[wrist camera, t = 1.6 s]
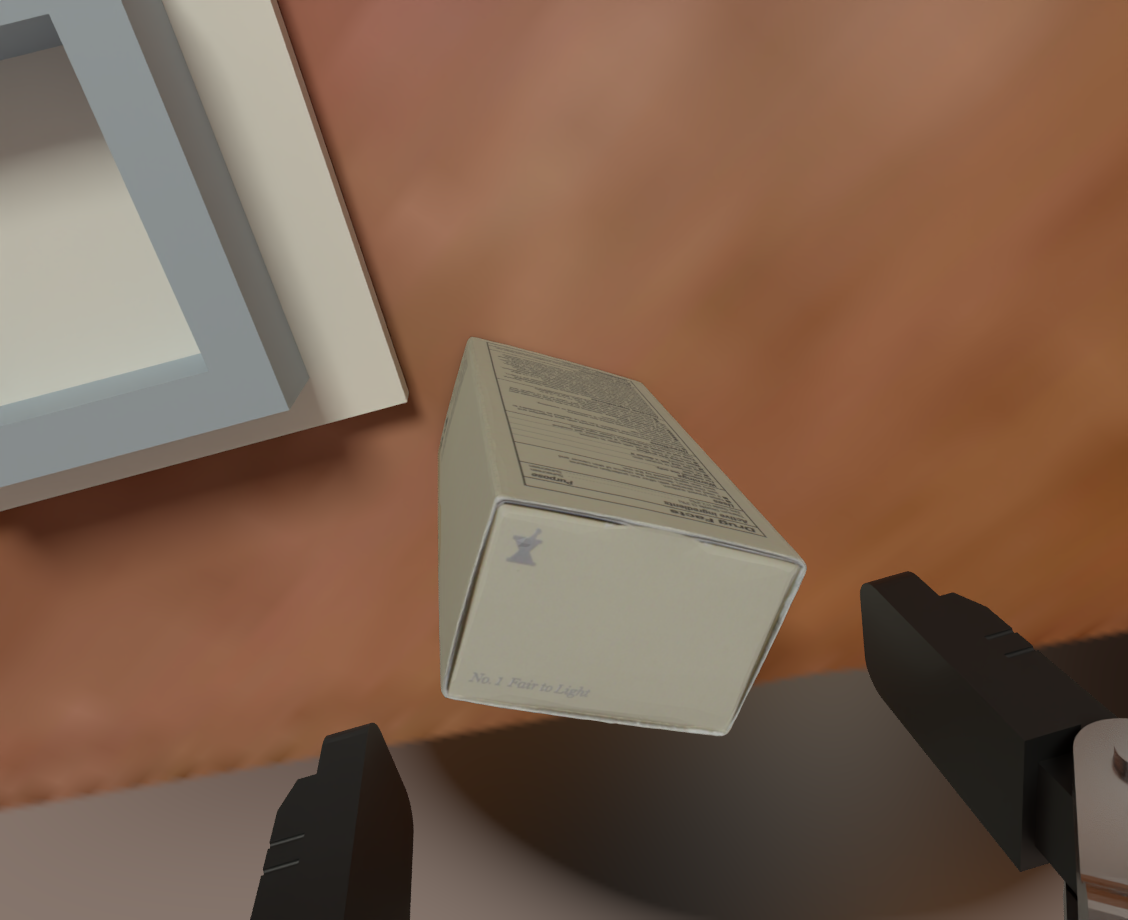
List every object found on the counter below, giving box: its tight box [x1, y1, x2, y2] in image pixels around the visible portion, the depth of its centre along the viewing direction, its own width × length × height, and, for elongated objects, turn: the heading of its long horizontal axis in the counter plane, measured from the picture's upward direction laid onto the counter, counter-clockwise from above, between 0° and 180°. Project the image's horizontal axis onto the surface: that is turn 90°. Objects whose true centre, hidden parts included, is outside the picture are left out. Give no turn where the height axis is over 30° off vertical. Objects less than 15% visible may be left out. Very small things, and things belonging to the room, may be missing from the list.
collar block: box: [0, 0, 409, 511], centre depth 19 cm, size 16×14×4 cm
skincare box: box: [438, 337, 807, 736], centre depth 19 cm, size 6×4×12 cm
